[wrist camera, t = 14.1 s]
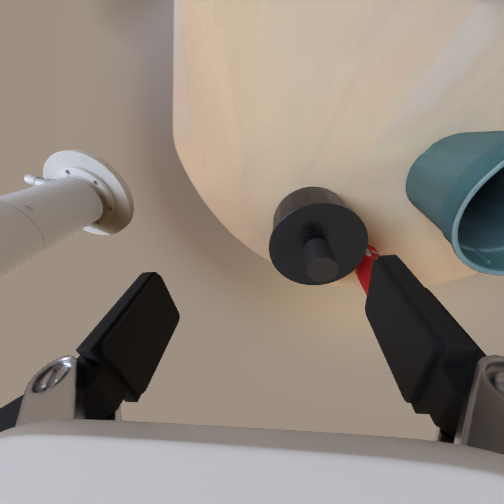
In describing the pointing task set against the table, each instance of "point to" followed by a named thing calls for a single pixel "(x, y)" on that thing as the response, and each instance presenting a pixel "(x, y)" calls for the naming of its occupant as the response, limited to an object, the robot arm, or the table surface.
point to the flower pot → (465, 195)
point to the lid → (318, 243)
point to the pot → (304, 200)
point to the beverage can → (366, 267)
